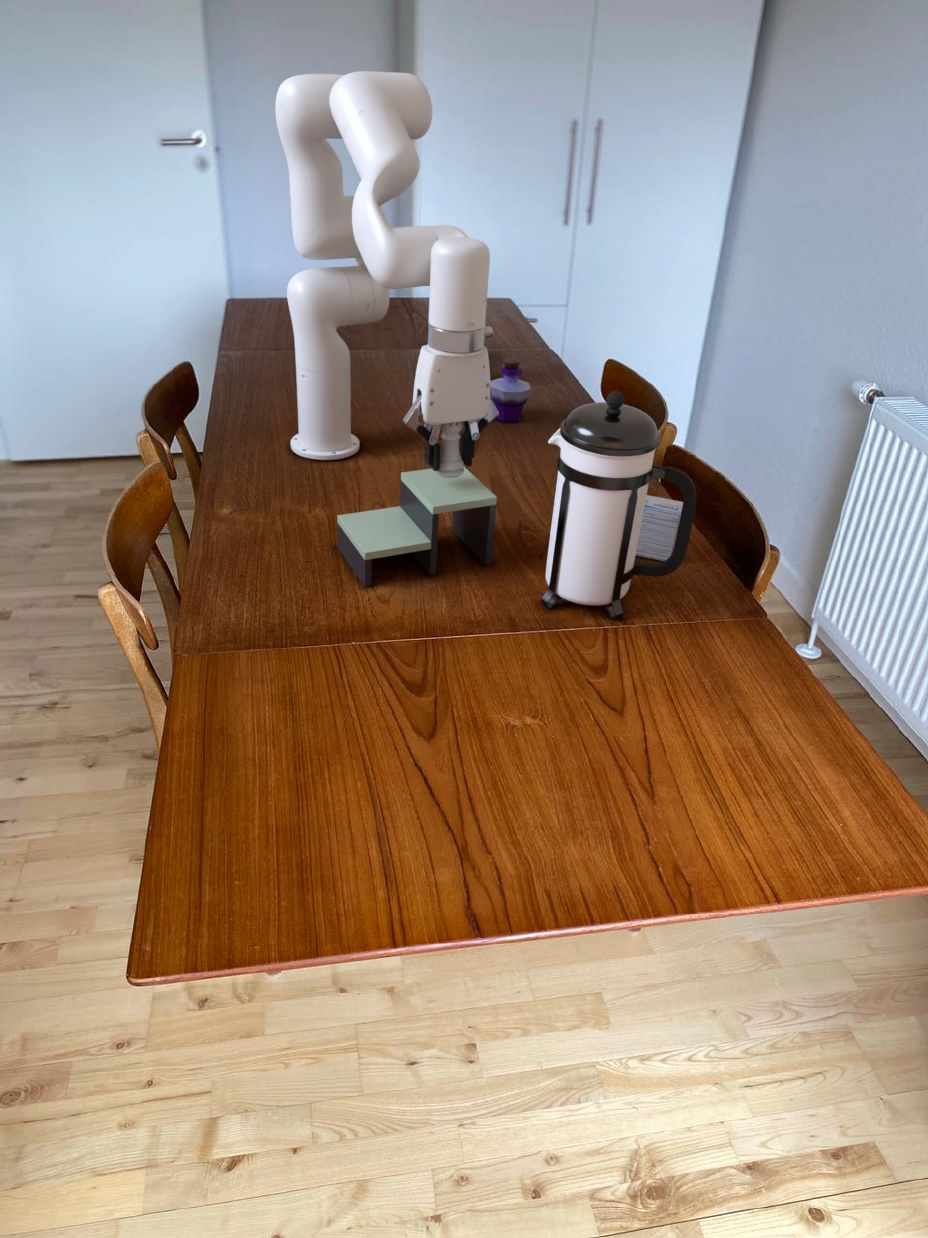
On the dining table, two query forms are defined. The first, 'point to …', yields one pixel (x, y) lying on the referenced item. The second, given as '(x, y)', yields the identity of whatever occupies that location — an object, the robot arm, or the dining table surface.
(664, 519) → the medicine box
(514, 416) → the potion bottle
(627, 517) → the coffee press
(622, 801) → the dining table surface
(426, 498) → the rack
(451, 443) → the rook chess piece
